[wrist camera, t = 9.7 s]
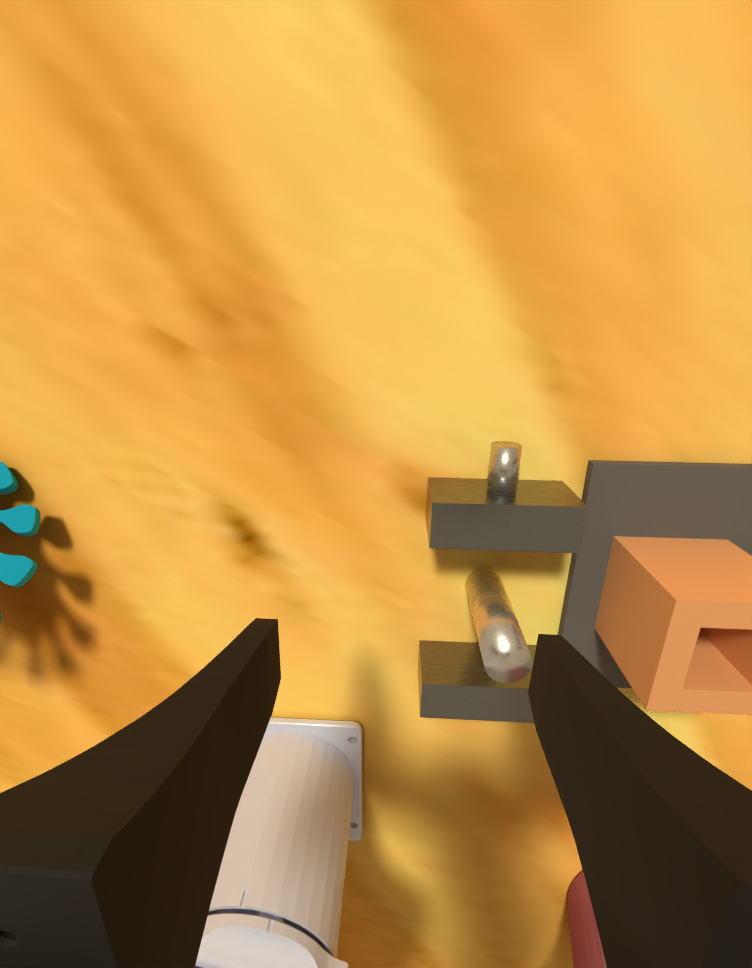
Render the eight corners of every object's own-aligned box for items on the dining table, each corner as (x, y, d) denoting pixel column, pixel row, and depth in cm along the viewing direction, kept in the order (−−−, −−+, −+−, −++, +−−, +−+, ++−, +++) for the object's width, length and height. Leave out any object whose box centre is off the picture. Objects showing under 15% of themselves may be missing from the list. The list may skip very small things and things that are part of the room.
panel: (706, 684, 24) (712, 691, 23) (550, 677, 24) (553, 684, 24) (778, 464, 20) (787, 468, 19) (588, 460, 20) (593, 463, 20)
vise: (531, 676, 24) (566, 773, 19) (417, 671, 24) (422, 765, 19) (569, 437, 20) (628, 479, 15) (430, 434, 20) (440, 475, 15)
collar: (699, 632, 22) (780, 716, 17) (594, 627, 22) (645, 710, 18) (727, 539, 20) (825, 605, 16) (613, 536, 21) (676, 599, 16)
